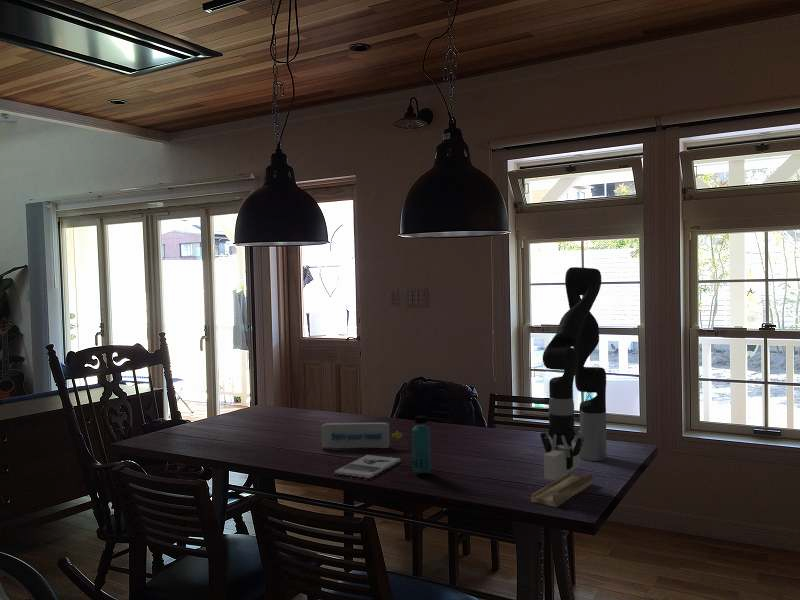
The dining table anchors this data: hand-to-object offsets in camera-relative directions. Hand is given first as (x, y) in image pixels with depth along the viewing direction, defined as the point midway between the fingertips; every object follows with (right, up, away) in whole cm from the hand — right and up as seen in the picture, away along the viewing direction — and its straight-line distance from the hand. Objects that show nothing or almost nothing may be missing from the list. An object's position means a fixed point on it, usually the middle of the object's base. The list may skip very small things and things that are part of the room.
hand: (562, 467), depth 197 cm
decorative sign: (-65, -8, +59) cm, 88 cm away
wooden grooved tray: (0, -8, 0) cm, 8 cm away
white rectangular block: (0, -1, 0) cm, 1 cm away
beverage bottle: (-42, -8, +23) cm, 49 cm away
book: (-61, -9, +31) cm, 69 cm away
